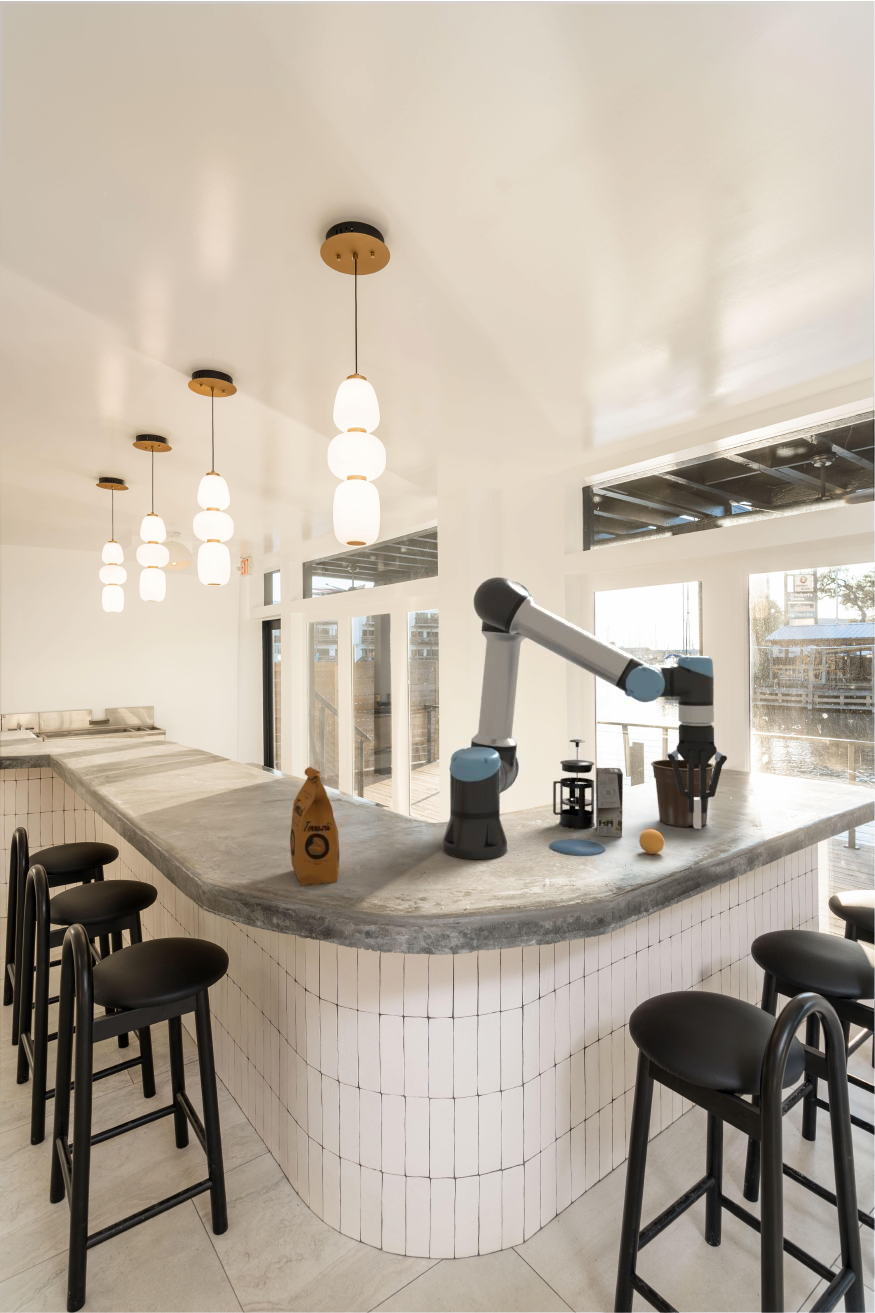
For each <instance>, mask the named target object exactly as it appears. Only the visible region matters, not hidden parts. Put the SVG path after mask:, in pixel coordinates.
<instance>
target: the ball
mask: <svg viewBox="0 0 875 1313" xmlns="http://www.w3.org/2000/svg"><path fill="white" fill-rule="evenodd" d="M639 846H640V848H641V849H642V851H644V852H645V853H647V854H651V855H655V854H658V853H660V852H661V851H662V850H663V848H664V846H665V839H664V836H663V835H662V834H661V833H660V831H658V830H656V829H652V828H650V829H649V828H648V829H645V830H643V832H642V833H641V834H640V836H639Z"/></svg>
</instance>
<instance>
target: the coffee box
mask: <svg viewBox="0 0 875 1313" xmlns="http://www.w3.org/2000/svg"><path fill="white" fill-rule="evenodd" d="M595 770H596V772H595V773H596V775H595V777H596V778H595V779H596V780H595V786H596V787H595V791H596V792H595V820H596V821H595V824H596V825H595V827H596V828H595V829H596V835H597V836H598V837H599V836H600V837H611V838H613V837H615V838H622V837H623V798H624V797H623V796H624V795H623V791H624V790H623V789H624V787H623V783H624V782H623V780H624V779H623V778H624V774H623V771H622V769H621V768H620V767H595Z"/></svg>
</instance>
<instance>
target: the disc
mask: <svg viewBox="0 0 875 1313" xmlns="http://www.w3.org/2000/svg"><path fill="white" fill-rule="evenodd" d="M549 848H550V849H551V850H552V851H554V852H556V851H557V853H559V852H560V854H563V853H564V854H563V855H568V854H569V856H570V855H571V856H578V855H579V857H580V856H581V857H582V856H585V857H586V856H588V857H589V856H595V855H599V854H602V853H604V852H605V851H606V847H605V846H604V845H603V844H601V843H599V842H596V841H593V840H590V839H588V840H587V839H583V838H581V839H580V838H562V839H557V840H556V839H555V840H553V841H551V842H550V843H549Z"/></svg>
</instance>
